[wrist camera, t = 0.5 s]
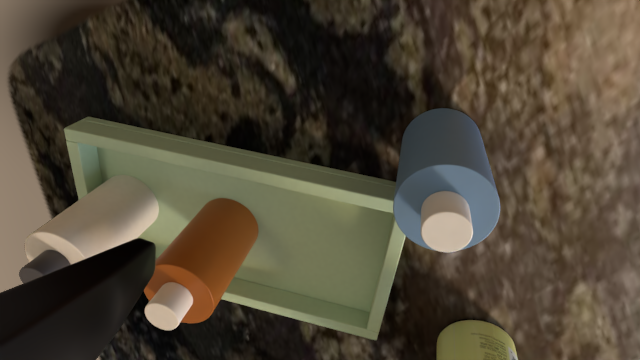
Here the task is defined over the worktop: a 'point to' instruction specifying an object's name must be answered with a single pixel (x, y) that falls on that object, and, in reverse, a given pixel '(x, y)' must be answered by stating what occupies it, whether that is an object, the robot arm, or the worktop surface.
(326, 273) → the tray
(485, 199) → the blue bottle
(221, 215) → the amber bottle
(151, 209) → the white bottle
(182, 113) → the worktop surface
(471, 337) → the tube
